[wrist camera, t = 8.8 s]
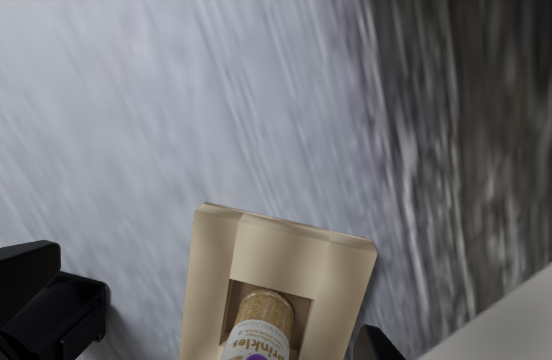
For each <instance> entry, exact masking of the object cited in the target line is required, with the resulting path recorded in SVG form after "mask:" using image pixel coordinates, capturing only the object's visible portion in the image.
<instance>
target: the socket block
mask: <svg viewBox="0 0 552 360" xmlns="http://www.w3.org/2000/svg"><path fill="white" fill-rule="evenodd" d="M377 254H378V253H377V251H376V248H375V246H374V244H373V242H372V240H370V239H366V238H362V237H357V236H353V235H348V234H344V233H340V232H335V231H331V230H326V229H322V228H317V227H313V226H309V225H304V224H300V223H295V222H291V221H287V220H282V219H278V218H273V217H269V216H265V215H260V214H256V213H251V212H247V211H243V210H238V209H234V208H229V207H225V206H220V205H216V204H212V203H207V202H205V203H204V204H203V205H201V206H200V207H199V208H198V209H197V210H195V212H194V221H193V231H192V240H191V249H190V258H189V267H188V276H187V286H186V295H185V304H184V313H183V322H182V331H181V341H180V350H179V359H178V360H220V359H221V356H222V354H223V351H224V348H225V346H226V343H227V340H228V338H229V335H230V333H231V331H232V329H233V327H234V324H235V321H236V319H237V316H238V313H239V307H240V304H241V302H242V300H243V299H244V298H245V297H246V295H248V294H249V293H251V292H252V291H255V290H260V289H268V290H273V291H275V292H278V293H279V294H281V295H282V296H283V297H285V298H286V299H287V300H288V301H289V303H290V305H291V307H292V310H293V315H294V316H293V323H292V325H291V332H290V340H289V349H290V351H289V360H343V359H344V356H345V353H346V350H347V347H348V343H349V340H350V337H351V334H352V331H353V328H354V325H355V322H356V319H357V316H358V313H359V310H360V307H361V303H362V300H363V297H364V294H365V291H366V288H367V285H368V282H369V279H370V276H371V273H372V270H373V267H374V264H375V260H376V257H377Z"/></svg>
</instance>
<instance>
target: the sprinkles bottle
mask: <svg viewBox="0 0 552 360" xmlns="http://www.w3.org/2000/svg"><path fill="white" fill-rule="evenodd" d="M293 316H294V315H293V310H292V307H291V305H290V303H289V301H288V300H287V299H286V298H285V297H283V296H282V295H281V294H279V293H278V292H275V291H273V290H268V289H260V290H255V291H252V292H251V293H249V294H248V295H246V297H245V298H244V299H243V300H242V302H241V304H240V307H239V313H238V316H237V319H236V321H235V324H234V327H233V329H232V331H231V333H230V335H229V338H228V340H227V343H226V346H225V348H224V351H223V354H222V356H221V359H220V360H289V351H290V349H289V340H290V332H291V325H292V323H293Z"/></svg>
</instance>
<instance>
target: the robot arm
mask: <svg viewBox="0 0 552 360" xmlns="http://www.w3.org/2000/svg"><path fill="white" fill-rule="evenodd" d="M60 269H61V248H60V245H59V244H58V243H55V242H51V241H48V240H40V241H35V242H29V243H24V244H18V245H13V246H7V247H2V248H0V360H75V359H76V358H77V357H78V356H79V355H80V354H81V353H82V352H83V351H84V350H85V349H86V348H87V347H88V346H89V345H90V344H91V343H92V342H93V341H95V342H100V341H101V340H102V339H103V338H104V336H105V285H104V284H103V283H102V282H99V281H95V280H92V279H88V278H84V277H80V276H76V275H72V274H69V273H65V272H61V271H60ZM353 360H406V359H405V358H404V357H403V356H402V354H401V353H400V352H399V351H398V350H397V349H396V347H395V346H394V345H393V344H392V343H391V341H390V340H389V339H388V338H387V337H386V335H385V334H384V333H383V332H382V331H381V330H380V329H379V328H378V327H375V326H372V325H368V324H364V325H362V327H361V329H360V332H359V334H358V337H357V340H356V343H355V346H354V350H353Z"/></svg>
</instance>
